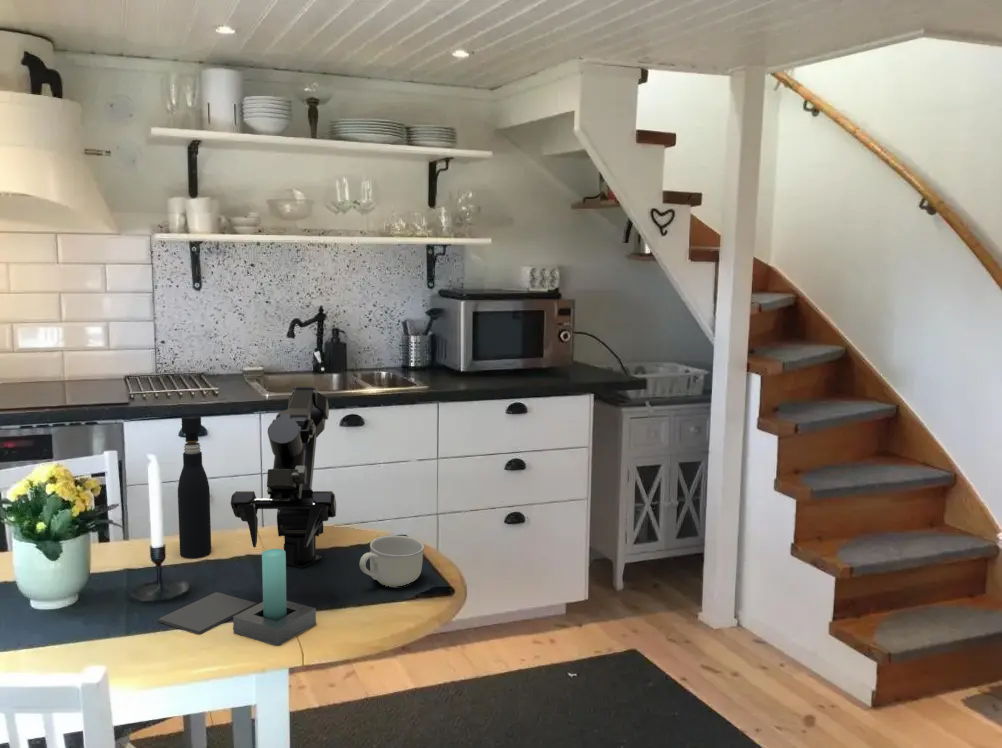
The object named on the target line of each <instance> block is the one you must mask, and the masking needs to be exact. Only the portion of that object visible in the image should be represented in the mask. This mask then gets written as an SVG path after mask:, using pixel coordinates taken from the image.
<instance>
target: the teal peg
mask: <svg viewBox="0 0 1002 748" xmlns="http://www.w3.org/2000/svg"><path fill="white" fill-rule="evenodd" d="M261 565H262V566H261V571H262V577H261V578H262V602H263V618H267V619H270V620H274V621H278V620H279V619H281V618H283V617H285V616H287V603H286V600H287V569H286V568H287V564H286V552H285V550H284V549H281V548H270V549H266V550H263V551H262V552H261Z"/></svg>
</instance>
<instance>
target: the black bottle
mask: <svg viewBox="0 0 1002 748" xmlns="http://www.w3.org/2000/svg"><path fill="white" fill-rule="evenodd" d="M181 433H183V434H185V443H184V446H183V451H184V452H183V453H182V461H183V466H182V469H181V473H180V475H179V479H178V485H177V509H178V511H177V512H178V536H179V537H178V538H179V556H180V557H181V558H184V559H191V560H192V559H200V558H205V557H207V556H210V554H212V534H211V533H212V532H211V528H212V527H211V496H210V494H211V493H210V492H211V491H210V483H209V478H208V476H207V473H206V471H205V467H204V466H203V452H202V450H201V445H200V444H201V443H200V442H199V441H200V439H199V433H202V416H201V415H198V414H188V415H183V416H181Z"/></svg>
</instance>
